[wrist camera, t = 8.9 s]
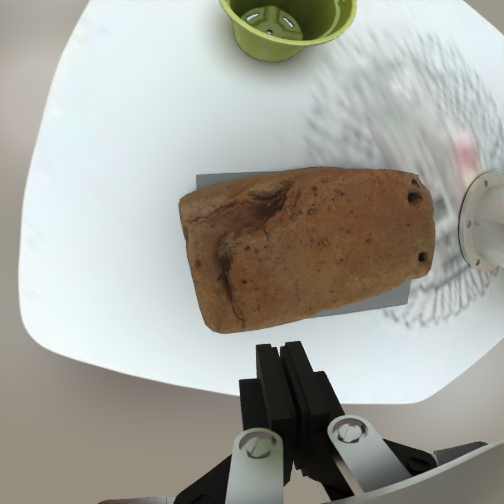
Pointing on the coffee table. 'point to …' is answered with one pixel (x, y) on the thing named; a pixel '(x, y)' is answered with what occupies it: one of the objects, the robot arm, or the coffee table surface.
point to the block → (303, 242)
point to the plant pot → (287, 25)
